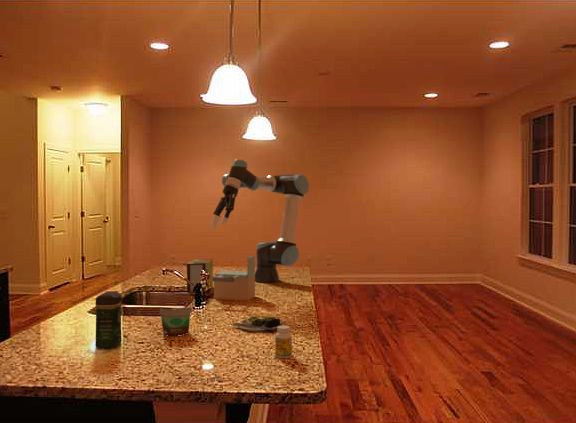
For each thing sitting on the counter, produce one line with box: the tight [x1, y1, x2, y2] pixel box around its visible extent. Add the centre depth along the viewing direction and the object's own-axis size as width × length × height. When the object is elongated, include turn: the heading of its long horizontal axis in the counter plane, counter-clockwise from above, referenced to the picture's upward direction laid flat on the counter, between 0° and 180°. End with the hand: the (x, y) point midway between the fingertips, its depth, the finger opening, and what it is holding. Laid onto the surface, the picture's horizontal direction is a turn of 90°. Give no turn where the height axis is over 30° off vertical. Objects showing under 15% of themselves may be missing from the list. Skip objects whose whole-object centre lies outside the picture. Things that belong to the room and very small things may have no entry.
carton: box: [213, 254, 256, 302], centre depth 252 cm, size 10×18×21 cm, turn 76°
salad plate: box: [232, 316, 283, 333], centre depth 198 cm, size 19×18×5 cm
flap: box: [213, 270, 247, 282], centre depth 246 cm, size 22×16×2 cm
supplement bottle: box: [274, 325, 293, 359], centre depth 162 cm, size 5×5×10 cm
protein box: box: [186, 259, 214, 293], centre depth 272 cm, size 10×15×16 cm
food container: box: [158, 304, 193, 337], centre depth 186 cm, size 12×6×10 cm, turn 117°
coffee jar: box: [94, 290, 123, 350], centre depth 173 cm, size 10×8×19 cm
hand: (218, 225), depth 251 cm, fingers open, 13 cm apart
